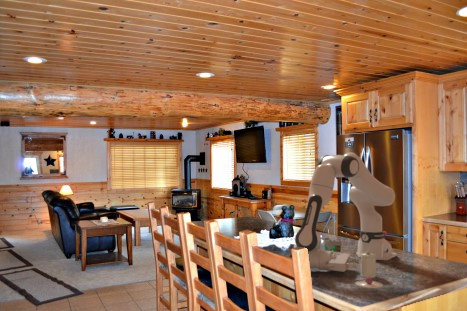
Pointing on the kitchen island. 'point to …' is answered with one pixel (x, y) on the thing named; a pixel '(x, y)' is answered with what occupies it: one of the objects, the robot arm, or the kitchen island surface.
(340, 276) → the kitchen island surface
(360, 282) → the saucer
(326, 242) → the food container
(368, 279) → the ball
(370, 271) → the lidded octagonal canister
